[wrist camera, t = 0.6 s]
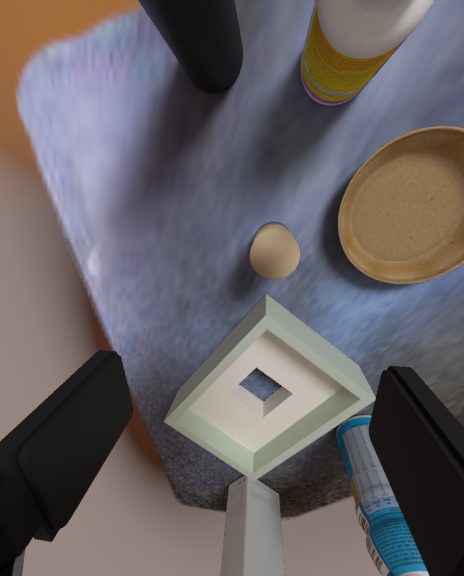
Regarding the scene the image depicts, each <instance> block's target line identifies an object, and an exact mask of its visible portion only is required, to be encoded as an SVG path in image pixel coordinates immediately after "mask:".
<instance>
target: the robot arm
mask: <svg viewBox="0 0 464 576" xmlns="http://www.w3.org/2000/svg"><path fill="white" fill-rule="evenodd" d="M132 414H133V405H132V401H131V397H130V393H129V388H128V384H127V380H126V376H125V371H124V367H123V363H122V359H121V356H120V355H118V354H117V352H116V351H104V350H100V351H98V352H96V353H95V354H94V355H93V356H92V357H91V358H90V359H89V360H88V361H87V362H85V364H83V365H82V366H81V367H80V368H79V369H78V370H77V371H76V372H75V373H74V374H73V375H71V376H70V378H68V379H67V380H66V381H65V382H64V383H63V384H62V385H61V386H60V387H59V388H57V390H55V391H54V392H53V393H52V394H51V395H50V396H49V397H48V398H47V399H46V400H44V402H42V403H41V404H40V405H39V406H38V407H37V408H36V409H35V410H34V411H33V412H32V413H30V414H29V415H28V416H27V417H26V418H25V419H24V420H23V421H22V422H21V423H20V424H19V425H18V426H16V427H15V428H14V429H13V430H12V431H11V432H10V433H9V434H8V435H7V436H6V437H5V438H4V439H2V440H1V441H0V576H22V571H23V563H24V555H25V548H26V547H27V545H28V544H29V542H30V541H31V539H32V538H33V537H34V539H38V540H44V541H49V542H52V541H53V539H54V537H55V536H56V534H57V532H58V531H59V529H60V528H63V527H64V526H65V525H66V524H67V523H68V521H69V520H70V518H71V517H72V515H73V513H74V512H75V510H76V509H77V507H78V505H79V504H80V502H81V500H82V499H83V497H84V495H85V494H86V492H87V490H88V488H89V487H90V485H91V484H92V482H93V480H94V479H95V477H96V475H97V474H98V472H99V470H100V469H101V467H102V465H103V464H104V462H105V460H106V459H107V457H108V455H109V454H110V452H111V450H112V449H113V447H114V445H115V444H116V442H117V440H118V438H119V437H120V435H121V434H122V432H123V430H124V429H125V427H126V426H127V424H128V422H129V420H130V419H131V416H132ZM369 437H370V441H371V443H372V445H373V448H374V450H375V452H376V454H377V457H378V459H379V461H380V464H381V466H382V468H383V471H384V473H385V475H386V477H387V480H388V482H389V484H390V487H391V489H392V491H393V494H394V496H395V498H396V500H397V503H398V505H399V507H400V510H401V512H402V514H403V517H404V519H405V521H406V523H407V526H408V528H409V530H410V533H411V535H412V537H413V540H414V542H415V544H416V546H417V549H418V551H419V553H420V556H421V558H422V560H423V563H424V565H425V567H426V569H427V572H428V574H429V576H464V428H463V427H462V425H461V424H460V423H459V422H458V421H457V420H456V419H455V417H454V416H453V415H452V414H451V413H450V412H449V410H448V409H447V408H446V407H445V406H444V405H443V403H442V402H441V401H440V400H439V399H438V398H437V396H436V395H435V394H434V393H433V392H432V391H431V390H430V388H429V387H428V386H427V385H426V384H425V383H424V381H423V380H422V379H421V378H420V377H419V376H418V374H417V373H416V372H415V371H414V370H413V369H412V368H410V367H400V366H389V367H388V369H387V370H384V371H383V372H382V374H381V378H380V383H379V387H378V391H377V395H376V399H375V404H374V408H373V412H372V416H371V420H370V425H369Z"/></svg>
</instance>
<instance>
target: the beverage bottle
mask: <svg viewBox="0 0 464 576" xmlns="http://www.w3.org/2000/svg"><path fill="white" fill-rule="evenodd" d="M370 420H371V415H357V416H353V417H350V418H348V419H346V420H345V421H343V422H342V423H341V424H340V425H339V427H338V429H337V433H336V438H337V442H338V445H339V448H340V450H341V453H342V456H343V460H344V463H345V467H346V470H347V474H348V477H349V481H350V485H351V488H352V492H353V495H354V499H355V503H356V514H357V517H358V520H359V523H360V525H361V527H362V529H363V530H364V532H365V533H366V534H367V538H366V545H367V549H368V552H369V554H370V556H371V558H372V560H373V562H374V564H375V566H376V567H377V569H378V571H379V572H380V574H381V575H382V576H429V574H428V572H427V569H426V567H425V565H424V563H423V560H422V558H421V556H420V553H419V551H418V549H417V546H416V544H415V542H414V540H413V537H412V535H411V533H410V530H409V528H408V526H407V523H406V521H405V519H404V517H403V514H402V512H401V510H400V507H399V505H398V503H397V500H396V498H395V496H394V494H393V491H392V489H391V487H390V484H389V482H388V480H387V477H386V475H385V473H384V471H383V468H382V466H381V464H380V461H379V459H378V457H377V454H376V452H375V450H374V448H373V445H372V443H371V441H370V437H369V425H370Z"/></svg>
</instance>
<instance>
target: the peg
mask: <svg viewBox="0 0 464 576" xmlns="http://www.w3.org/2000/svg"><path fill="white" fill-rule="evenodd" d="M299 259H300V250H299V246H298V244H297V242H296V241H295V239H294V237H293V236H292V234H291V233H290V231H289V229H288V228H287V227H286V226H285V225H283V224H281V223H278V222H270V223H266V224H264V225H263V226H262V227H260V229H259V230H258V231H257V233H256V236H255V238H254V241H253V244H252V247H251V250H250V261H251V265H252V267H253V268H254V270H255V271H256V272H257V273H258V274H259V275H261V276H262V277H264V278H267V279H281V278H284V277H286V276H288V275H289V274H291V273H292V272H293V271H294V270H295V268H296V267H297V265H298V263H299Z"/></svg>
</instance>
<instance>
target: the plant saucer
mask: <svg viewBox="0 0 464 576" xmlns="http://www.w3.org/2000/svg"><path fill="white" fill-rule="evenodd" d="M338 233H339V239H340V242H341V245H342V248H343V250H344V253H345V254H346V256H347V258H348V259H349V260H350V262H351V263H352V264H353V265H354V266H355V267H356V268H357V269H358V270H360V271H361V272H362V273H364V274H365V275H367V276H369V277H371V278H373V279H376V280H378V281H381V282H386V283H392V284H413V283H419V282H424V281H428V280H431V279H434V278H437V277H440V276H442V275H444V274H446V273H448V272H450V271H452V270H454V269H455V268H457V267H459V266H460V265H461V264H463V263H464V129H463V128H458V127H451V126H436V127H426V128H422V129H418V130H415V131H412V132H409V133H406V134H404V135H402V136H400V137H398V138H396V139H394V140H392V141H390V142H389V143H387V144H386V145H384V146H383V147H381V148H380V149H379V150H377V151H376V152H375V153H374V154H373V155H372V156H371V157H369V158H368V159H367V160H366V161H365V162H364V164H363V165H362V166H361V167H360V168H359V170H358V171H357V172H356V174H355V175H354V176H353V178H352V180H351V181H350V183H349V185H348V187H347V189H346V191H345V193H344V196H343V198H342V201H341V205H340V209H339V215H338Z"/></svg>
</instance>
